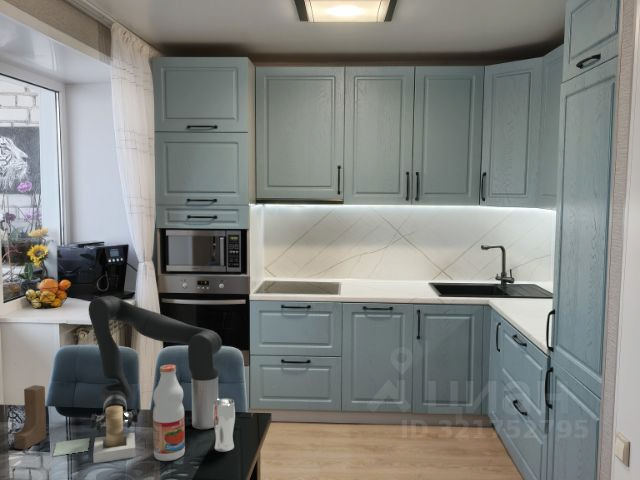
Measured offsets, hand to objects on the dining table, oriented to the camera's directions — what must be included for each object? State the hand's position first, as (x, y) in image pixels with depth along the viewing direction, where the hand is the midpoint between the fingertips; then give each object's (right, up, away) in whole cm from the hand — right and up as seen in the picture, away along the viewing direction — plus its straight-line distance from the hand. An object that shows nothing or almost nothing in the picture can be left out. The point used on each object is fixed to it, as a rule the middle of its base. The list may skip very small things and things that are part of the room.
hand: (114, 426), depth 169 cm
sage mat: (-15, -8, +5) cm, 18 cm away
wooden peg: (0, -8, +2) cm, 9 cm away
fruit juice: (+17, -9, 0) cm, 19 cm away
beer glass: (+34, -8, +4) cm, 35 cm away
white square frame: (0, -8, +2) cm, 9 cm away
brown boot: (-30, -8, +8) cm, 32 cm away
